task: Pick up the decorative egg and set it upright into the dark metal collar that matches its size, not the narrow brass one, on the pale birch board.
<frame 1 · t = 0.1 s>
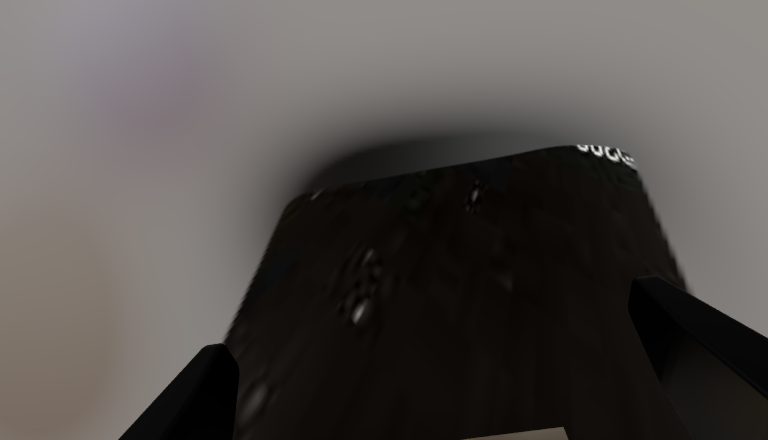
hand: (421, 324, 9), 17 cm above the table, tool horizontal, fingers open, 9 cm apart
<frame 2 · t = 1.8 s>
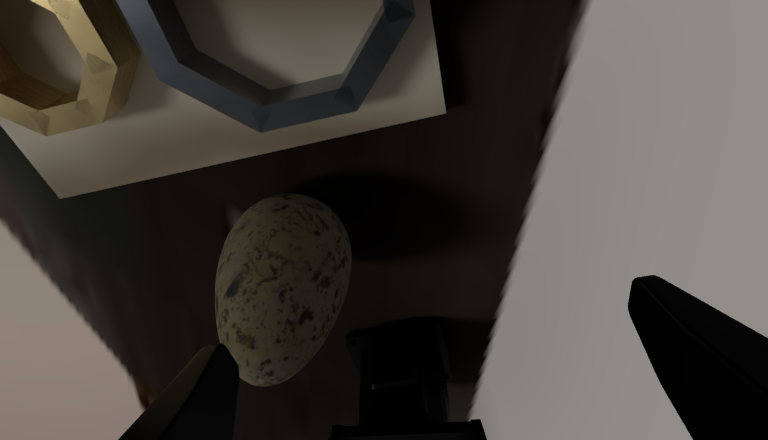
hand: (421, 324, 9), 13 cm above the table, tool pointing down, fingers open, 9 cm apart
fitting board: (182, 1, 17), on the table
decorative egg: (300, 214, 23), on the table
narrow collar: (70, 32, 17), resting on fitting board
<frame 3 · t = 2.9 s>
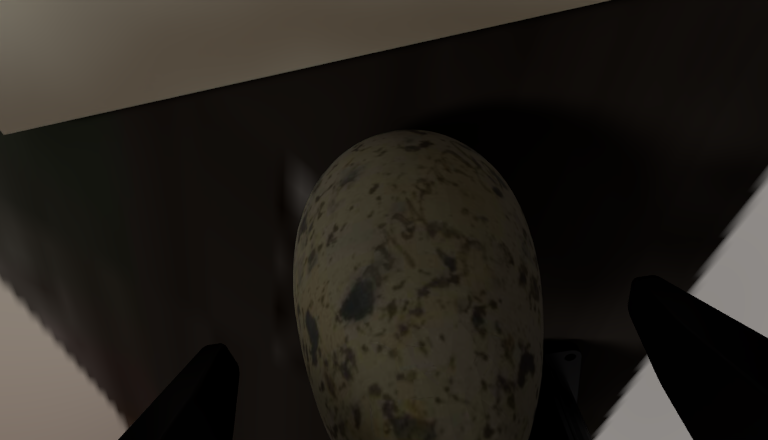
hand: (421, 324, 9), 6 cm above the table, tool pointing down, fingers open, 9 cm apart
decorative egg: (402, 176, 14), on the table
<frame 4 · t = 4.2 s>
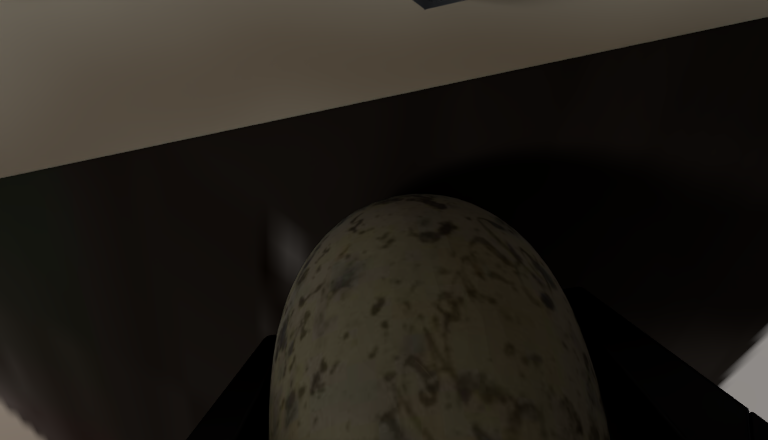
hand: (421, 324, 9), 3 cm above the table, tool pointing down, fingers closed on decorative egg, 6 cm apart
decorative egg: (410, 235, 12), on the table, touching gripper
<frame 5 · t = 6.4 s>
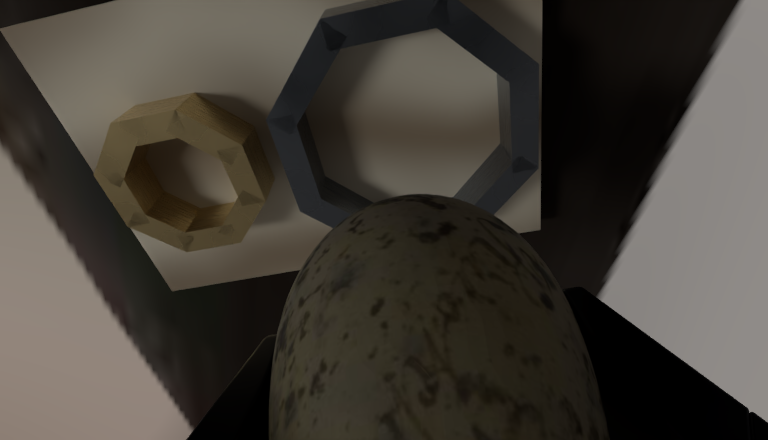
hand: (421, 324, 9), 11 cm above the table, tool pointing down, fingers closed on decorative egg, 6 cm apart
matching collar: (403, 115, 18), resting on fitting board
fitting board: (313, 133, 19), on the table
decorative egg: (410, 235, 12), point 8 cm above the table, touching gripper
narrow collar: (207, 154, 19), resting on fitting board
when the fingers open (5 cm above the table, at t = 8.5 s): decorative egg stays where it is, resting on fitting board.
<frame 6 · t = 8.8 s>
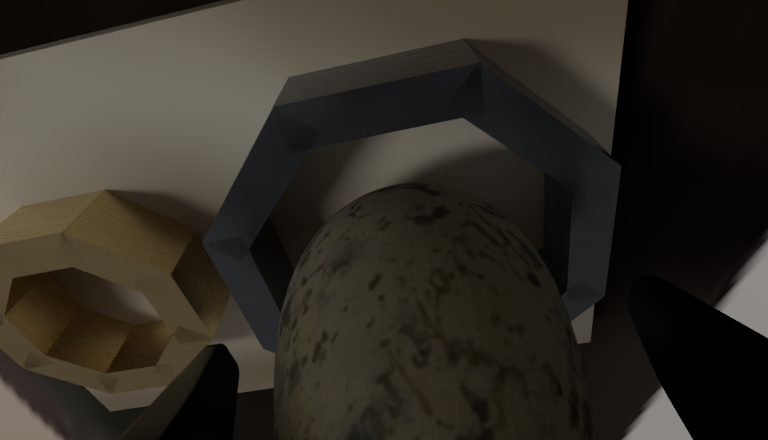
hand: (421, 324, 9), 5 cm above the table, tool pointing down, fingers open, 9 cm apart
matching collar: (407, 204, 13), resting on fitting board
fitting board: (284, 226, 14), on the table
decorative egg: (407, 225, 12), point 1 cm above the table, touching fitting board
narrow collar: (141, 253, 14), resting on fitting board
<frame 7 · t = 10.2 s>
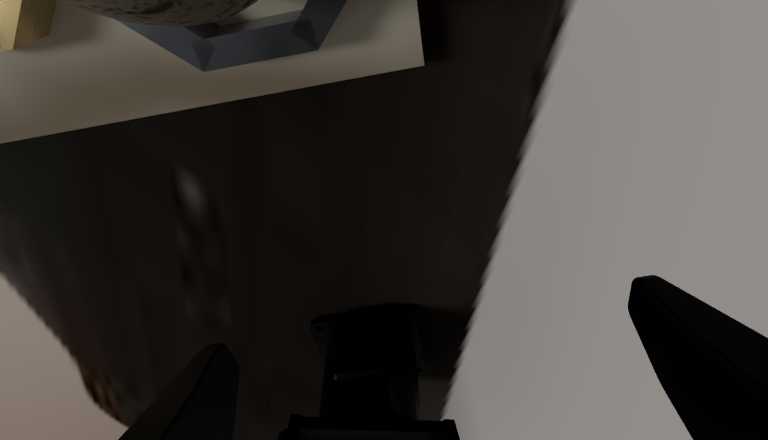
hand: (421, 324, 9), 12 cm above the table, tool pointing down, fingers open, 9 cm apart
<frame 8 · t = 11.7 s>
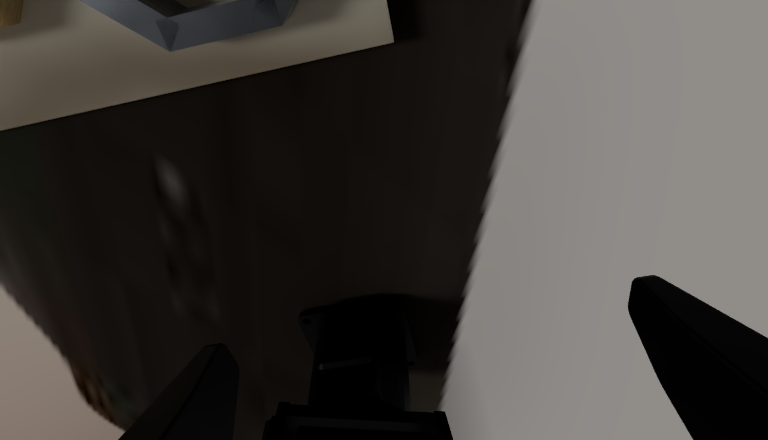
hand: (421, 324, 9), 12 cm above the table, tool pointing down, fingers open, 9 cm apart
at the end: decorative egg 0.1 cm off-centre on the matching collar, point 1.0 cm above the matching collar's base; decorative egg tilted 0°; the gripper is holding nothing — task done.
